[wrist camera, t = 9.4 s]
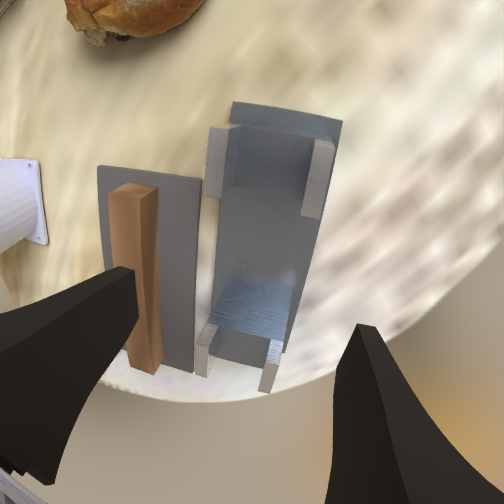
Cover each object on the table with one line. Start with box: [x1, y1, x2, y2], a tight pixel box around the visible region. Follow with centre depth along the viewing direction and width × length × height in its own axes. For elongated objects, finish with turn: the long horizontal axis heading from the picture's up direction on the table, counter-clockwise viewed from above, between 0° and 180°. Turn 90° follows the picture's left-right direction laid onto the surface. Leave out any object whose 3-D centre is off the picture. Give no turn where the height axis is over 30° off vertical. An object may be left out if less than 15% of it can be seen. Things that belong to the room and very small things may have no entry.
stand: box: [195, 102, 343, 394], centre depth 17 cm, size 6×17×6 cm, turn 172°
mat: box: [97, 165, 202, 373], centre depth 23 cm, size 8×18×1 cm, turn 172°
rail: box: [108, 182, 164, 375], centre depth 22 cm, size 2×16×2 cm, turn 172°
